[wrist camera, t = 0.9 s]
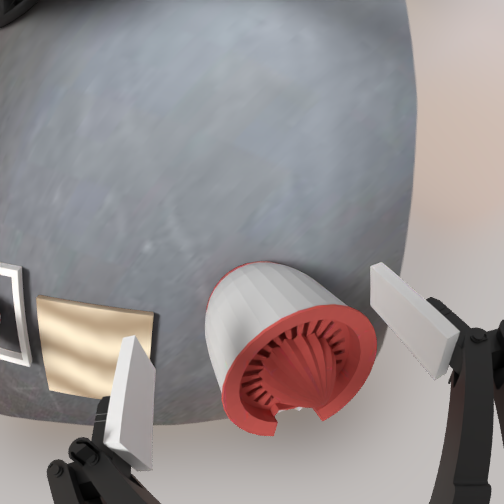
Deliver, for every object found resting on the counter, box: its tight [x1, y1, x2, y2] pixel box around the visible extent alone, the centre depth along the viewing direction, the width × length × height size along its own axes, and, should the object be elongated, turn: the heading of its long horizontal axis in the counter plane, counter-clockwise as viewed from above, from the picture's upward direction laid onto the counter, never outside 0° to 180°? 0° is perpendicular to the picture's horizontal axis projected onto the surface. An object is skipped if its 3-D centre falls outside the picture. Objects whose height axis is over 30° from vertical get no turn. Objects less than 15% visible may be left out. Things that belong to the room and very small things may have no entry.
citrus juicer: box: [205, 261, 377, 436], centre depth 31 cm, size 16×17×20 cm
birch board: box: [36, 295, 154, 399], centre depth 35 cm, size 16×16×1 cm
